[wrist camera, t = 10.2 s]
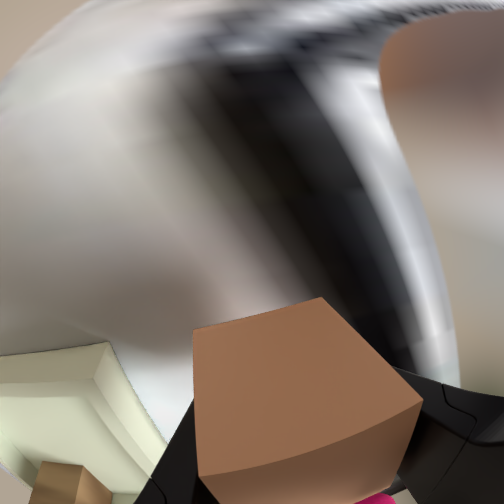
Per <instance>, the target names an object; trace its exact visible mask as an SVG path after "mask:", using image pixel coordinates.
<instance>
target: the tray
mask: <svg viewBox="0 0 504 504" xmlns="http://www.w3.org/2000/svg"><path fill="white" fill-rule="evenodd" d="M167 446H168V444H167V442H166V441H165V439H164V438H163V436H162V435H161V433H160V432H159V430H158V429H157V427H156V426H155V424H154V423H153V421H152V419H151V418H150V416H149V415H148V413H147V411H146V410H145V408H144V407H143V405H142V403H141V401H140V400H139V398H138V396H137V395H136V393H135V391H134V389H133V387H132V386H131V384H130V382H129V380H128V378H127V376H126V375H125V373H124V371H123V369H122V367H121V365H120V363H119V361H118V359H117V357H116V355H115V353H114V351H113V349H112V347H111V345H110V342H103V343H97V344H91V345H85V346H79V347H72V348H66V349H59V350H51V351H44V352H36V353H27V354H19V355H9V356H0V463H1V464H2V465H3V466H4V467H5V468H6V469H7V470H9V471H10V472H11V473H12V474H13V475H14V476H15V477H16V478H17V479H18V480H19V481H20V482H21V483H23V484H24V485H25V486H26V487H27V488H28V489H30V490H31V491H32V490H33V487H34V484H35V481H36V477H37V474H38V471H39V468H40V466H41V463H42V461H48V462H55V463H63V464H72V465H83V466H84V467H85V468H86V469H87V470H88V471H89V472H90V473H91V474H92V475H93V476H95V477H96V478H97V479H98V480H99V481H100V482H101V483H102V484H103V485H104V486H105V487H107V488H108V489H109V490H110V491H111V492H112V493H113V495H112V503H111V504H133V503H134V502H135V500H136V499H137V497H138V496H139V494H140V492H141V491H142V489H143V488H144V486H145V484H146V482H147V481H148V479H149V478H151V477H150V476H151V474H152V472H153V470H154V469H155V467H156V465H157V463H158V462H159V460H160V458H161V456H162V455H163V453H164V451H165V449H166V447H167Z"/></svg>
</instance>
